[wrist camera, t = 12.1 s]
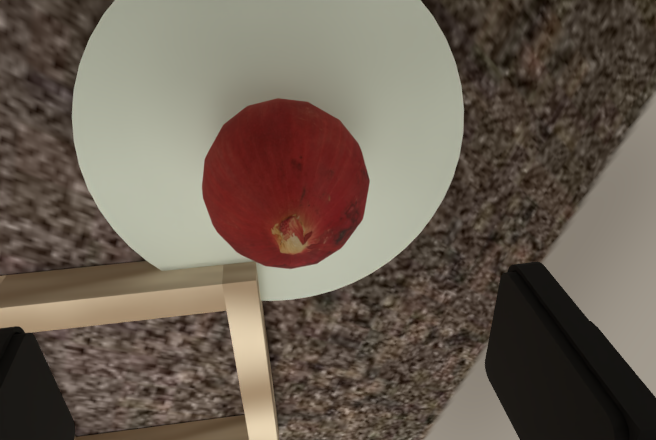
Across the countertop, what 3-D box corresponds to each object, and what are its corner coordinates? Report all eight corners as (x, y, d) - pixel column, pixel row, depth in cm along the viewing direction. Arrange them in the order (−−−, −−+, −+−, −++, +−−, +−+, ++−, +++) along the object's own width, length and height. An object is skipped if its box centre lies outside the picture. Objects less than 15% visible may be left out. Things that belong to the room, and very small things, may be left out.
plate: (23, -60, 18) (11, -58, 17) (473, -81, 19) (484, -80, 19) (129, 305, 26) (125, 318, 25) (442, 270, 28) (448, 282, 27)
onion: (374, 121, 22) (437, 212, 15) (303, 227, 24) (329, 350, 17) (250, 47, 20) (257, 113, 13) (183, 170, 22) (158, 285, 15)
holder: (-28, 278, 24) (-55, 313, 22) (255, 249, 25) (256, 280, 23) (56, 457, 31) (42, 497, 29) (278, 427, 32) (280, 464, 30)
